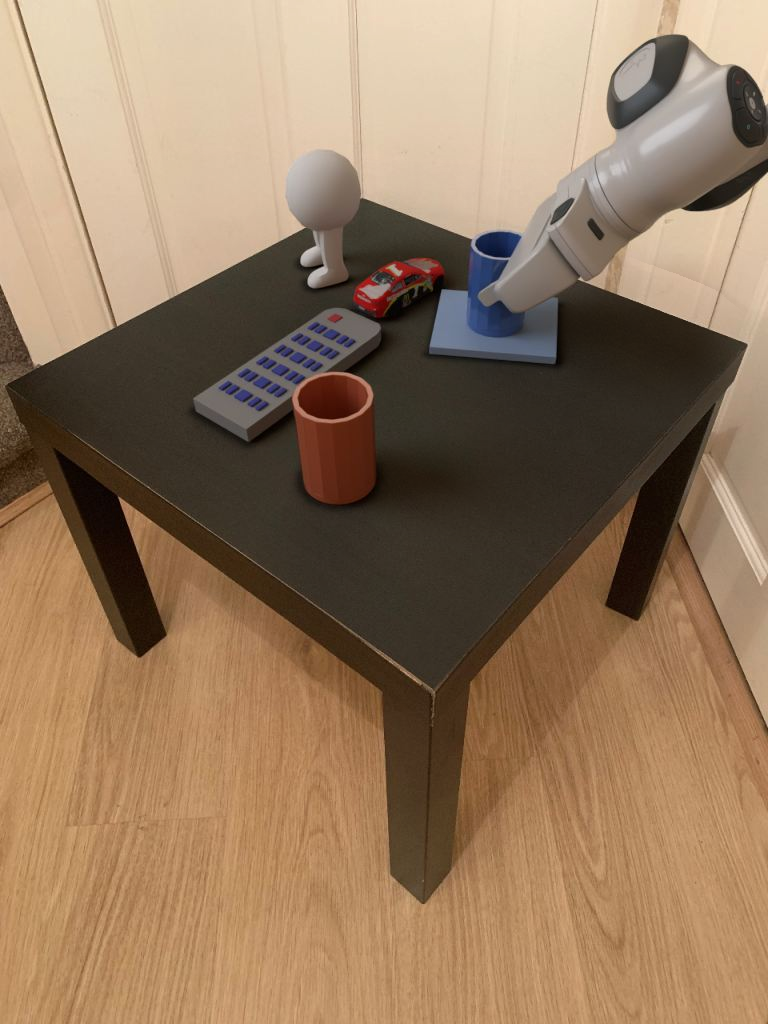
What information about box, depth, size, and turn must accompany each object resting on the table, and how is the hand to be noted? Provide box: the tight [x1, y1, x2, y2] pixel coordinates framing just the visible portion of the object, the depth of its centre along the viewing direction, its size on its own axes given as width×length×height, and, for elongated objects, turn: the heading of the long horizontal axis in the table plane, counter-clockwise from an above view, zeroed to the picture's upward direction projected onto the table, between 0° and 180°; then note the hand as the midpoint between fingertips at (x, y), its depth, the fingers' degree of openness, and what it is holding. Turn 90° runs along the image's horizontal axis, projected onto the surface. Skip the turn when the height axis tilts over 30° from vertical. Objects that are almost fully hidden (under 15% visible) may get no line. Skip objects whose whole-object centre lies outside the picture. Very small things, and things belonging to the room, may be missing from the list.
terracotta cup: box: [292, 371, 378, 506], centre depth 72 cm, size 7×7×10 cm
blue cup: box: [466, 229, 525, 337], centre depth 88 cm, size 7×7×10 cm
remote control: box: [192, 307, 382, 443], centre depth 87 cm, size 8×23×2 cm, turn 141°
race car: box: [352, 257, 446, 318], centre depth 96 cm, size 13×5×4 cm, turn 134°
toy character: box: [285, 148, 362, 289], centre depth 96 cm, size 9×9×15 cm
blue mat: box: [428, 288, 559, 365], centre depth 92 cm, size 14×12×1 cm
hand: (493, 280), depth 88 cm, fingers closed on blue cup, 7 cm apart
